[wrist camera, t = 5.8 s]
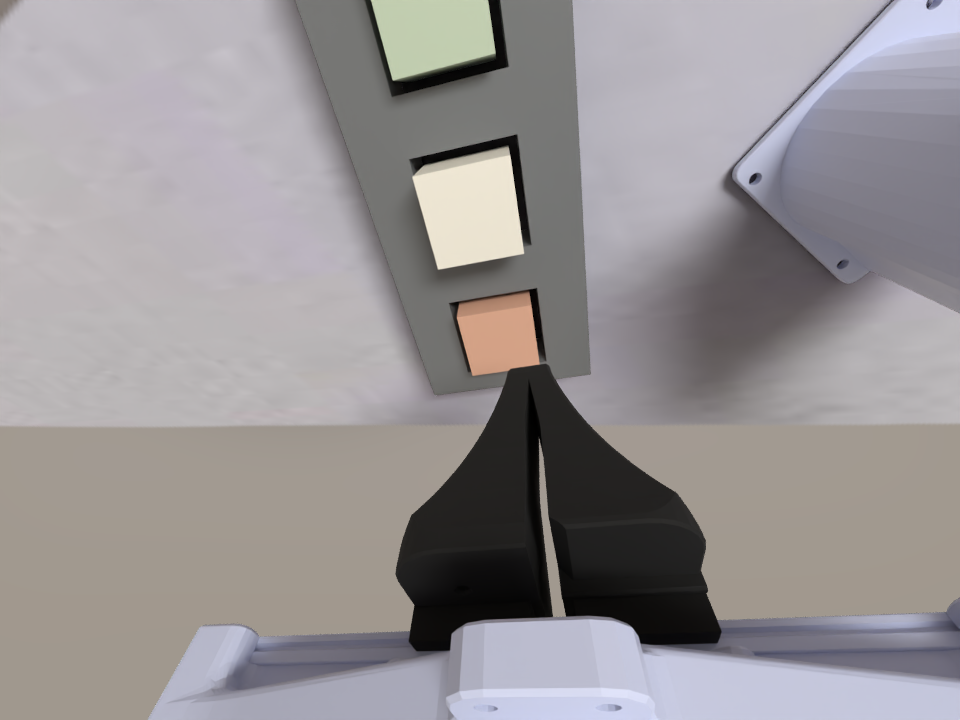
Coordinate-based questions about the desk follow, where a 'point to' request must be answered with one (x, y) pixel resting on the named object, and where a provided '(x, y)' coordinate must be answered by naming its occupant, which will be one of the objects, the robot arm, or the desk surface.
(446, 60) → the sage button
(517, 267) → the button panel
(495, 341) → the terracotta button
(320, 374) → the desk surface
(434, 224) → the cream button
